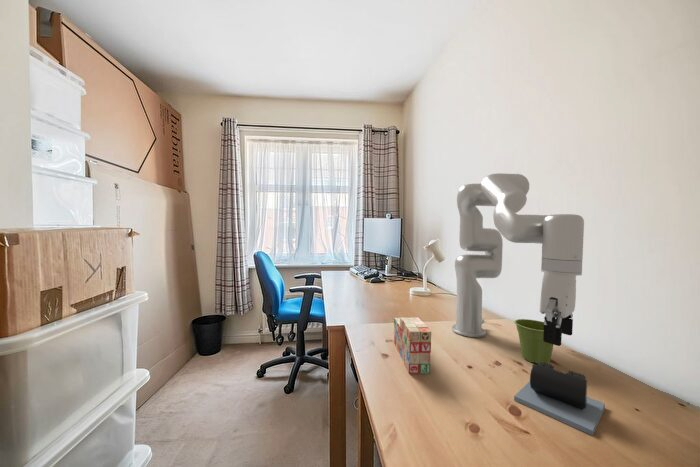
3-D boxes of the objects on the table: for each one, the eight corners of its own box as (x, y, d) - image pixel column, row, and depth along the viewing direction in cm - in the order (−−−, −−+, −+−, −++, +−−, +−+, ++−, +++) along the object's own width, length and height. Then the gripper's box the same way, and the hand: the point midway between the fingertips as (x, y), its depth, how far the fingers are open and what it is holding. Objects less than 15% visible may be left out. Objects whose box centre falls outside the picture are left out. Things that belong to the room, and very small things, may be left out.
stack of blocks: (393, 343, 95) (394, 309, 95) (410, 343, 96) (411, 309, 96) (408, 374, 74) (409, 330, 74) (430, 374, 74) (431, 330, 74)
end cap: (529, 395, 63) (530, 367, 63) (536, 384, 68) (536, 358, 68) (584, 417, 56) (585, 385, 56) (588, 402, 61) (588, 373, 61)
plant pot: (565, 363, 82) (566, 327, 82) (548, 372, 76) (548, 334, 76) (524, 348, 93) (525, 316, 93) (506, 356, 86) (506, 321, 86)
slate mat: (534, 380, 72) (534, 377, 72) (604, 407, 61) (604, 403, 61) (514, 400, 63) (514, 395, 63) (592, 435, 52) (592, 430, 52)
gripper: (552, 262, 71) (549, 325, 71) (529, 267, 60) (527, 342, 60) (589, 266, 65) (586, 334, 65) (572, 272, 54) (568, 354, 54)
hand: (558, 338), depth 63 cm, fingers open, 9 cm apart
